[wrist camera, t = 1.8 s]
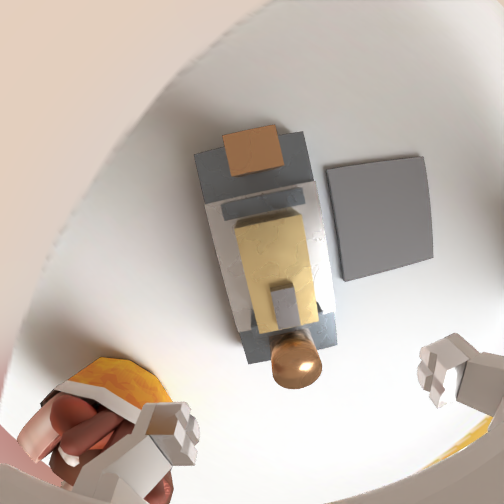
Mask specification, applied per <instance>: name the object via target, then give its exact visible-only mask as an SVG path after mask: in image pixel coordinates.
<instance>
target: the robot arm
mask: <svg viewBox="0 0 504 504" xmlns="http://www.w3.org/2000/svg"><path fill="white" fill-rule="evenodd" d="M419 357H420V359H421V360H422V361H421V363H420V364H419V366H418V370H417V376H418V381H419V383H420V385H421V387H422V388H423V390H426V391H429V392H430V394H429V398H430V399H431V401H432V402H433V403H434V405H435V406H436V408H437V409H438V408H440V407H442V406H444V405H446V404H448V403H450V402H452V401H454V400H456V401H458V402H460V403H463V404H465V405H467V406H469V407H471V408H474V409H476V410H478V411H480V412H483V413H485V414H487V415H490V416H492V417H493V419H492V421H491V423H490V425H489V427H488V433H486V434H485V435H483V436H482V437H480V438H479V439H477V440H476V441H474V442H473V443H471V444H469V445H468V446H466V447H465V448H463V449H461V450H460V451H458V452H456V453H454V454H453V455H451V456H449V457H447V458H445V459H444V460H442V461H440V462H438V463H436V464H434V465H432V466H430V467H428V468H426V469H424V470H422V471H419V472H417V473H415V474H413V475H411V476H408V477H406V478H404V479H401V480H399V481H396V482H394V483H391V484H389V485H386V486H383V487H380V488H378V489H375V490H372V491H369V492H366V493H362V494H359V495H356V496H352V497H349V498H345V499H342V500H338V501H334V502H330V503H325V504H504V356H500V355H495V354H490V353H486V352H483V353H479V352H478V351H477V350H476V349H475V348H474V347H473V346H472V345H470V344H469V343H468V342H467V341H466V340H465V339H463V338H462V337H461V336H460V335H459V334H457V333H453V334H451V335H449V336H447V337H445V338H443V339H440V340H438V341H436V342H434V343H431V344H429V345H427V346H424V347H422V348H421V350H420V355H419ZM190 411H191V409H190V407H189V405H188V403H186V402H159V403H146V404H144V405H143V407H142V410H141V412H140V414H139V417H138V419H137V422H136V424H135V426H134V429H133V431H132V434H127V435H126V436H125V437H123V438H122V439H121V440H119V441H118V442H116V443H115V444H114V445H112V446H111V447H110V448H108V449H107V450H105V451H104V452H103V453H101V454H100V455H98V456H97V457H96V458H94V459H93V460H91V461H90V462H88V463H87V464H85V465H84V466H83V467H82V469H81V471H80V473H79V475H78V478H77V480H76V482H75V484H74V486H73V488H72V491H69V490H66V489H63V488H60V487H58V486H55V485H53V484H50V483H48V482H45V481H43V480H40V479H38V478H36V477H33V476H31V475H29V474H27V473H25V472H23V471H21V470H19V469H17V468H15V467H13V466H11V465H9V464H6V463H2V464H0V504H149V503H148V502H147V501H145V500H144V499H143V498H144V497H145V496H146V495H147V494H148V493H149V492H150V491H151V490H152V489H153V488H154V487H155V486H156V485H157V483H158V482H159V481H160V480H161V479H162V478H163V477H164V476H165V475H166V473H167V472H168V471H169V470H170V469H171V468H172V466H191V465H195V462H196V457H197V450H196V448H195V445H196V444H197V443H198V442H199V438H200V430H199V425H198V422H197V420H196V418H195V417H193V416H192V415H190Z"/></svg>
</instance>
